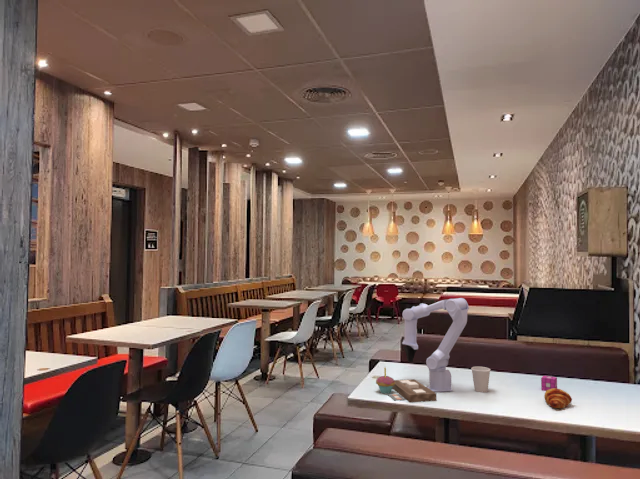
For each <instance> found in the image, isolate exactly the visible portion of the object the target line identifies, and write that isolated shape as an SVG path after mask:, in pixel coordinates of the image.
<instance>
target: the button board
mask: <svg viewBox="0 0 640 479" xmlns="http://www.w3.org/2000/svg"><path fill="white" fill-rule="evenodd" d="M399 380H400V379H394V381H395V385H394V386H393V388H392V390H393V391H395V393H396V394H398V393H399V395H401V396H402V397H403V398H405V399H406V400H405V401H408V402H409V403H417V402H419V403H422V402H421V401H423V402H437V392H433V391H432V390H430V389H428V388H427V387H426V386H425V385H424V384H422V383H420V382H419V381H417V380H416V379H415V378H414V379H408V380H409V381H410V382H416V383H417V384H419V388H408V387H406V384H402V383H401V382H399ZM419 389H422V390H424V391H425V392H426V393H417V394H416V393H415V392H413V391H412V390H419Z"/></svg>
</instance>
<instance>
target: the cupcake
mask: <svg viewBox="0 0 640 479" xmlns="http://www.w3.org/2000/svg"><path fill="white" fill-rule="evenodd" d="M383 368H384V372H383V373H384V375H382V376H378V378H376V381H375V384H376V385H377V386H378V388H379V391H380V394H384V395H387V394H388V395H390V394H391V393H392V390H393V389H392V388H393V386H394V385H395V381H394V380H395V379H394V378H393V377H391V376H388V375H387V373H386V372H387V368H386V367H383Z"/></svg>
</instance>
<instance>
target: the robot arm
mask: <svg viewBox="0 0 640 479" xmlns="http://www.w3.org/2000/svg"><path fill="white" fill-rule="evenodd" d="M442 309H443V310H444V311H446V312H447V313H448V314H449V316H450V317H451V319H452V323H451V325H450V326H449V328H448V330H447V332H446V333H445V335H444V337H443V339H442V341H441V342H440V344H439V345H438V347H437V349H436V350H435V351H433V353H431V355H430V356H428V357H427V358H426V361H425V363H426V367H427V369H428V371H429V372H428V374H429V377H428V378H429V384H428V386H425V387H427V388H428V389H430V390H432V391H433V392H435V393H440V392H453V389H452V373H451V371H450V370H449V369H447V368H446V367H447V366H448V365H449V359H450V357H451V356H450V353H451V351H452V350H453V347H454V346H455V344H456V343H457V341H458V339H459V337H460V336H461V334H462V332H463V330H464V328H465V327H466V325H467V322H468V312H469V309H470V306H469V304H468V302H467V300H466V299H465V298H463V297H458V298H449V299H442V300H439V301H437V302H434V303H432V304H429V305H428V304H426V303H423V302H422V303H419V305H417V306H415V305H413V306H412V307H411V308H405V309H404V310H403V311H402V318H403V320H404V339H402V342H401V344H402V345H405V346H403V350H404V351H405V354H406V359H407V362H408V363H412V362H414V359H415V355H416V352H418V350H419V345H418V343H417V339H418V338H417V335H418V334H417V326H418V325H417V323H418V319H421V318H425V317H428V316H430V314H431V313H432V312H435V311H438V310H442Z"/></svg>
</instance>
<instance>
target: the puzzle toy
mask: <svg viewBox="0 0 640 479" xmlns="http://www.w3.org/2000/svg"><path fill="white" fill-rule="evenodd" d="M540 378H541V379H540V380H541V381H540V382H541V386H540V387H541V388H540V389H541V391H543V392H546V390H549V389H553V388H557V389H558V377H556V376H549V375H543V376H542V377H540Z"/></svg>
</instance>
